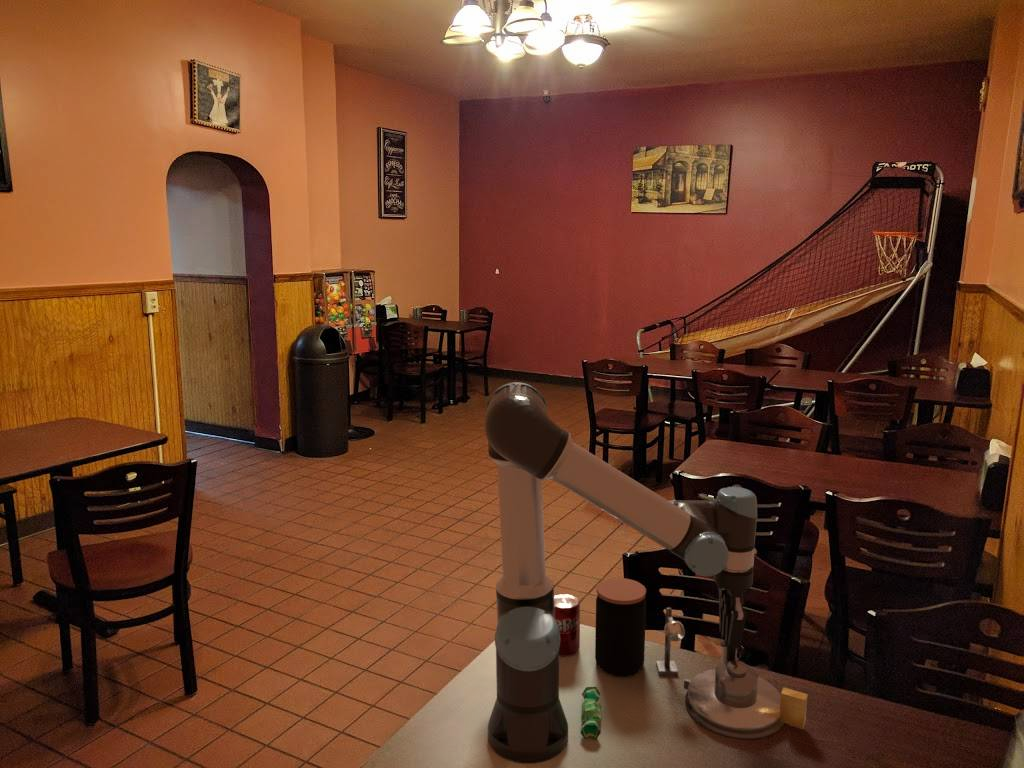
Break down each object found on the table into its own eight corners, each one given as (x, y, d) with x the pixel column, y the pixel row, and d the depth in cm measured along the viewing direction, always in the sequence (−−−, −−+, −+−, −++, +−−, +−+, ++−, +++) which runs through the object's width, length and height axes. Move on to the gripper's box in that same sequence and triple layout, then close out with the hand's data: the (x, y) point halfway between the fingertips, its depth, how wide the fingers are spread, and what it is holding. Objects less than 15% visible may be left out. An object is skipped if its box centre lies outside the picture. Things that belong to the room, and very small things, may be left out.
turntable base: (696, 739, 138) (696, 736, 138) (676, 679, 157) (677, 677, 156) (799, 740, 137) (799, 737, 137) (767, 680, 156) (767, 677, 156)
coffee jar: (642, 652, 167) (644, 578, 163) (645, 680, 157) (648, 601, 153) (594, 650, 168) (595, 576, 165) (595, 677, 158) (596, 599, 154)
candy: (604, 737, 138) (592, 719, 137) (588, 745, 138) (576, 727, 138) (603, 698, 149) (592, 682, 149) (589, 705, 150) (578, 689, 150)
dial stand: (663, 689, 153) (665, 623, 150) (656, 664, 162) (658, 601, 159) (682, 689, 153) (685, 623, 150) (674, 664, 162) (676, 601, 159)
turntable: (698, 732, 138) (699, 704, 137) (679, 676, 156) (680, 650, 155) (812, 734, 138) (814, 705, 136) (780, 677, 155) (782, 651, 154)
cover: (719, 707, 142) (720, 676, 141) (710, 683, 150) (712, 653, 149) (761, 708, 142) (763, 677, 141) (750, 683, 150) (752, 654, 149)
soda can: (545, 641, 172) (545, 594, 169) (576, 639, 172) (576, 592, 170) (550, 659, 165) (550, 609, 162) (582, 657, 165) (583, 607, 163)
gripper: (763, 580, 140) (756, 691, 145) (743, 551, 153) (737, 654, 158) (723, 580, 141) (717, 691, 145) (707, 551, 153) (702, 654, 158)
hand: (728, 671), depth 152 cm, fingers closed
